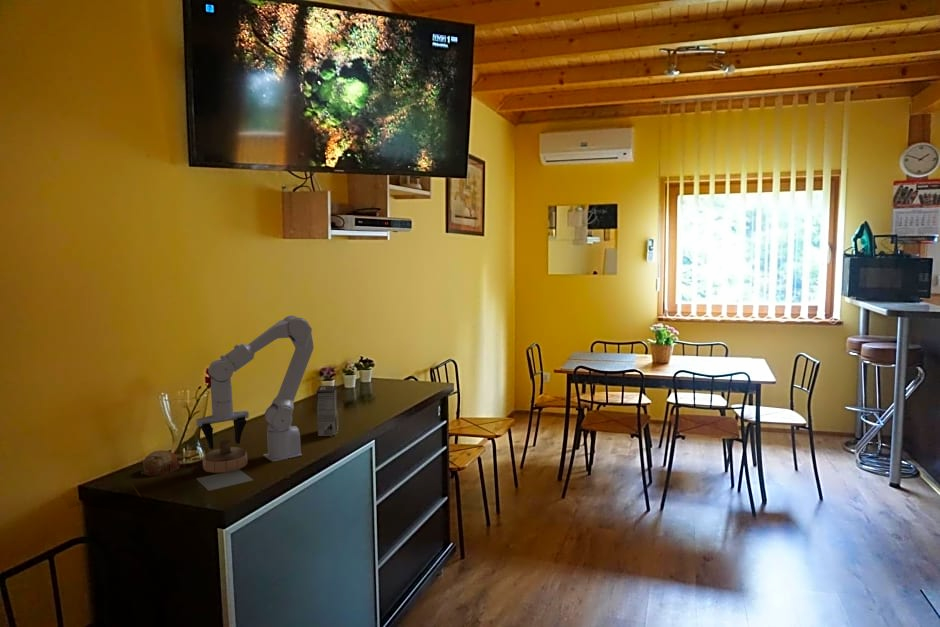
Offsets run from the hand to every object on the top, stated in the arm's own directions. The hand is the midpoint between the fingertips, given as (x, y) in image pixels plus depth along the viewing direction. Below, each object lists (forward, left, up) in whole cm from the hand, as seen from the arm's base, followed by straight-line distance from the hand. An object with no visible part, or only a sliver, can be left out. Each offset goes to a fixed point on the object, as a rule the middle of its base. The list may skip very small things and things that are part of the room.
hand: (224, 445), depth 187 cm
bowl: (0, 0, -6) cm, 6 cm away
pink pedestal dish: (0, 0, -3) cm, 3 cm away
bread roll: (+16, -9, -7) cm, 19 cm away
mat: (+4, +12, -6) cm, 14 cm away
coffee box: (-39, -12, -7) cm, 41 cm away
